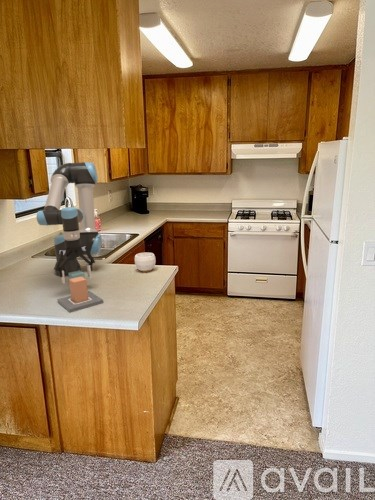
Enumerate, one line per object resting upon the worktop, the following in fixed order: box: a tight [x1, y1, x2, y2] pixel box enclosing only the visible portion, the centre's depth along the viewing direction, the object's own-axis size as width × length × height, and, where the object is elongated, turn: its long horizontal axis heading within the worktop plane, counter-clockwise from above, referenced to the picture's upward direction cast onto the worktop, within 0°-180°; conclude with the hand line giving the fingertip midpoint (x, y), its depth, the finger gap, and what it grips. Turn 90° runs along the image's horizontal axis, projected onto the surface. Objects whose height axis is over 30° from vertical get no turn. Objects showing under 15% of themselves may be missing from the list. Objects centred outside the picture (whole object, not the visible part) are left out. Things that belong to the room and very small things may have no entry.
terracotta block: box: [68, 276, 89, 303], centre depth 166 cm, size 6×6×10 cm
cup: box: [134, 252, 157, 273], centre depth 212 cm, size 12×12×10 cm
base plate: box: [56, 290, 104, 313], centre depth 167 cm, size 16×16×2 cm
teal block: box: [68, 270, 86, 280], centre depth 181 cm, size 6×6×10 cm
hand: (76, 280), depth 180 cm, fingers open, 13 cm apart
